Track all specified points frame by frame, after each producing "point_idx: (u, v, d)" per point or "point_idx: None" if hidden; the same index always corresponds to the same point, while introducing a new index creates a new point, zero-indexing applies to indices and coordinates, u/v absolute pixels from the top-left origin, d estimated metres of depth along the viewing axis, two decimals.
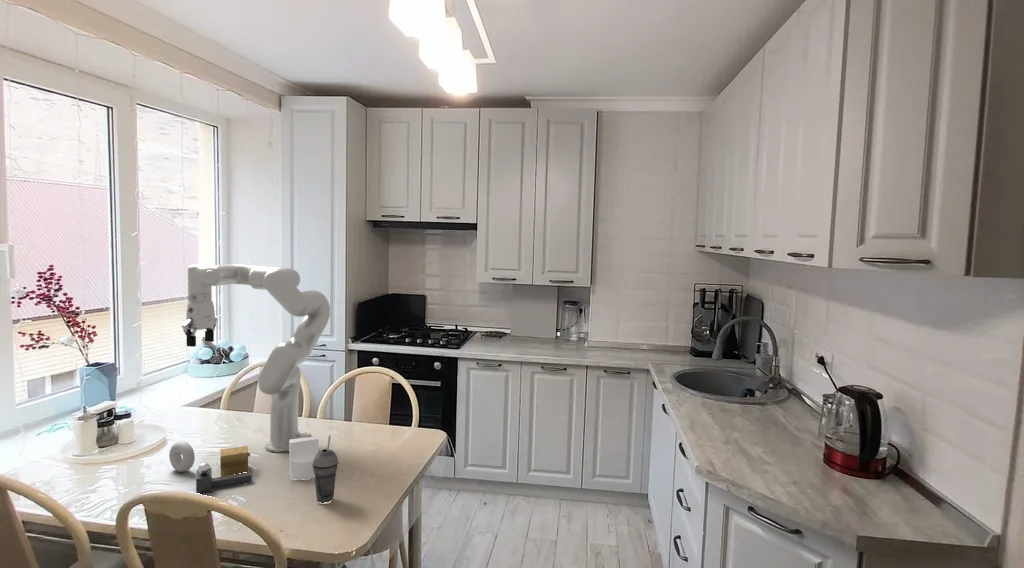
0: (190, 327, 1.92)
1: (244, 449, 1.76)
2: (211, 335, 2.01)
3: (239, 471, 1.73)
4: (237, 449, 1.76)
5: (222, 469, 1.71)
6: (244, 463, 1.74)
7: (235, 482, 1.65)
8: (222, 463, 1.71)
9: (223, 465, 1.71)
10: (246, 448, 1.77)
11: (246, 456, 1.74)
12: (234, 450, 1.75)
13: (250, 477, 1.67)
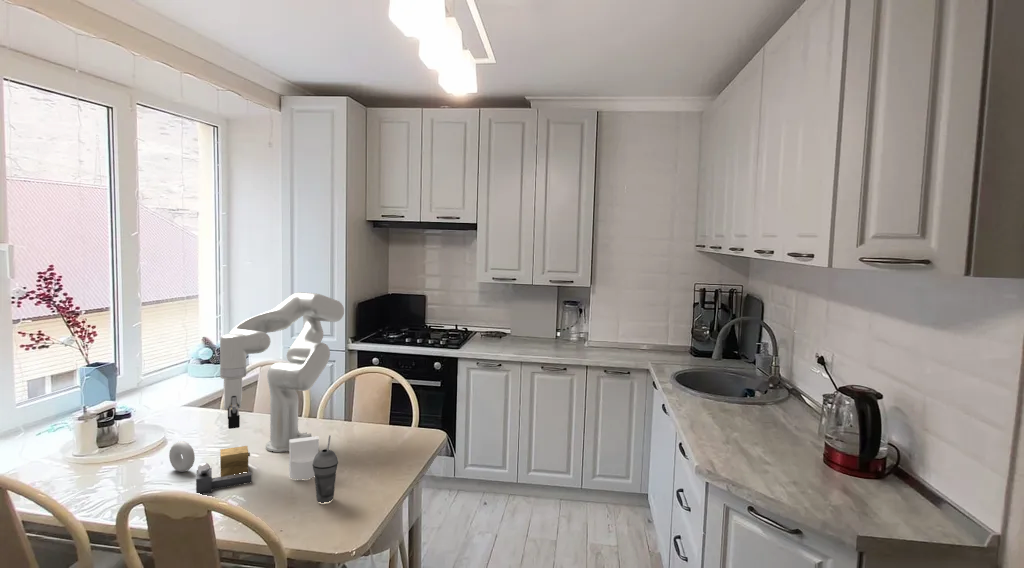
0: None
1: (244, 449, 1.76)
2: None
3: (239, 471, 1.73)
4: (237, 449, 1.76)
5: (222, 469, 1.71)
6: (244, 463, 1.74)
7: (235, 482, 1.65)
8: (222, 463, 1.71)
9: (223, 465, 1.71)
10: (246, 448, 1.77)
11: (246, 456, 1.74)
12: (234, 450, 1.75)
13: (250, 477, 1.67)
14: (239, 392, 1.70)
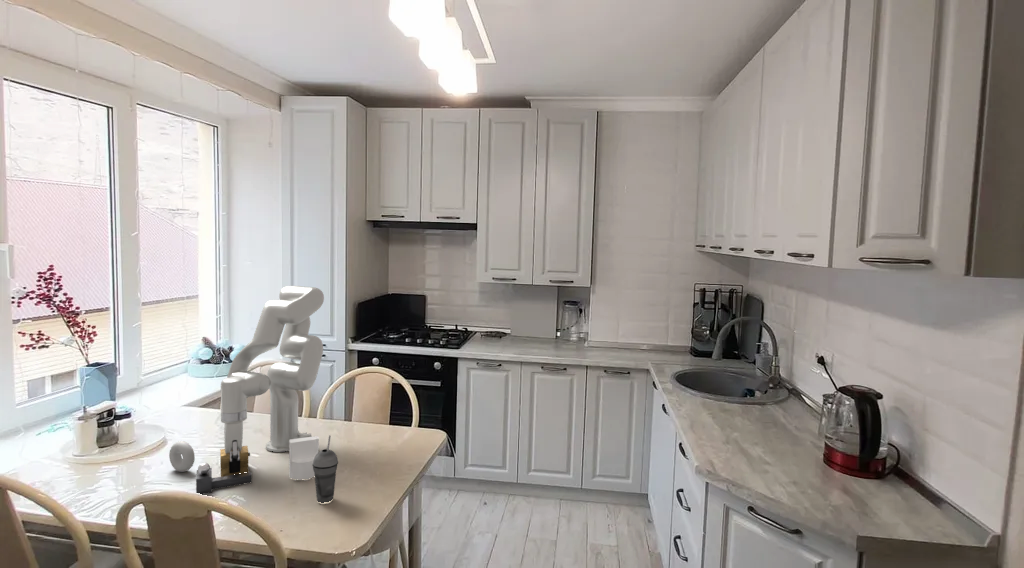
0: None
1: (244, 449, 1.76)
2: None
3: None
4: (237, 449, 1.76)
5: (222, 469, 1.71)
6: (244, 463, 1.74)
7: (235, 482, 1.65)
8: (222, 462, 1.71)
9: (223, 465, 1.71)
10: (246, 448, 1.77)
11: (246, 456, 1.74)
12: None
13: (250, 477, 1.67)
14: (240, 436, 1.71)
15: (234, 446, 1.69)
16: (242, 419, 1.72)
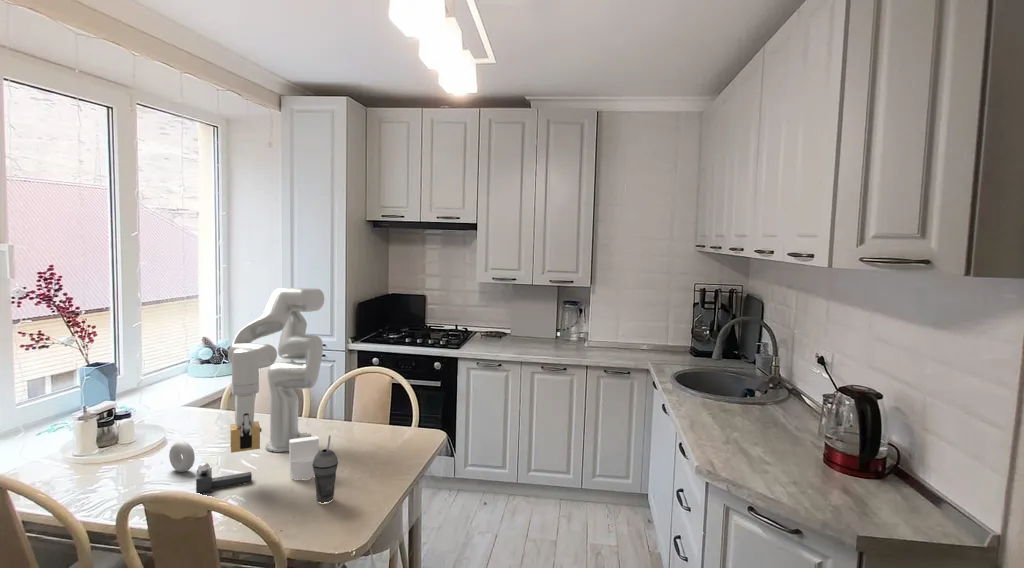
0: None
1: (255, 424, 1.67)
2: None
3: None
4: None
5: (232, 444, 1.62)
6: (256, 438, 1.65)
7: (235, 482, 1.65)
8: (233, 437, 1.62)
9: (234, 440, 1.62)
10: (257, 423, 1.69)
11: (258, 431, 1.66)
12: None
13: (250, 477, 1.67)
14: (252, 409, 1.63)
15: (246, 420, 1.61)
16: (254, 392, 1.64)
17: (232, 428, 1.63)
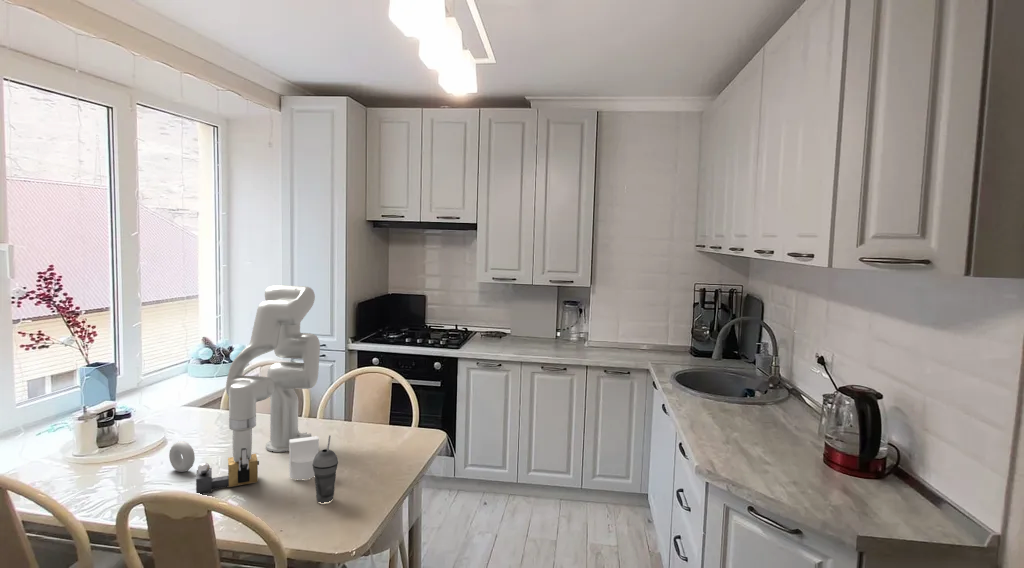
0: None
1: (253, 458, 1.68)
2: None
3: None
4: (246, 457, 1.68)
5: (230, 478, 1.63)
6: (253, 472, 1.66)
7: None
8: (230, 472, 1.63)
9: (231, 474, 1.63)
10: (255, 456, 1.69)
11: (255, 465, 1.66)
12: None
13: None
14: (249, 444, 1.63)
15: (243, 455, 1.62)
16: (251, 426, 1.65)
17: (230, 462, 1.64)
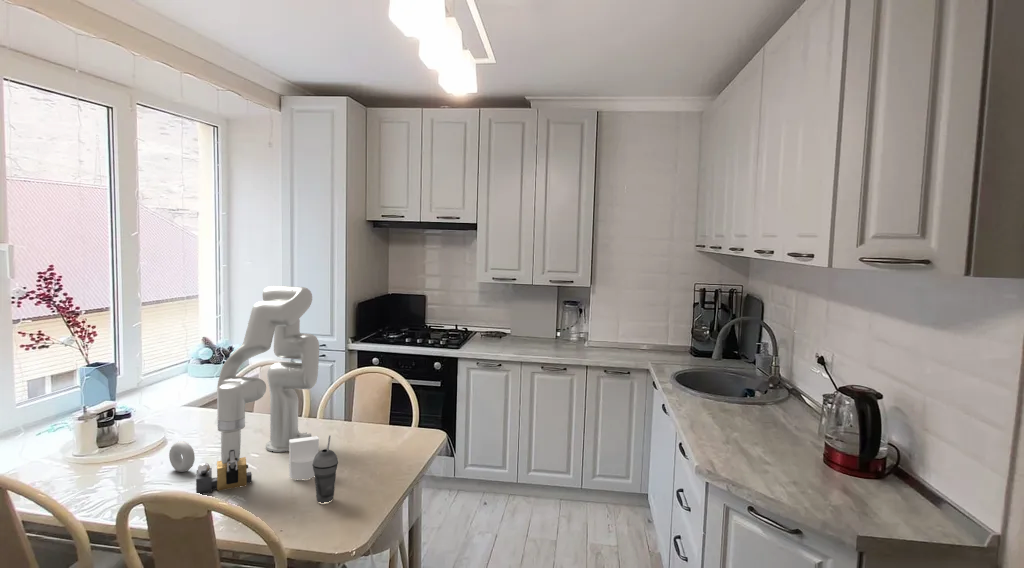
0: None
1: (242, 461, 1.67)
2: None
3: (237, 484, 1.64)
4: None
5: (219, 482, 1.62)
6: (242, 476, 1.65)
7: None
8: (219, 475, 1.62)
9: (220, 478, 1.62)
10: (244, 460, 1.68)
11: (244, 468, 1.65)
12: None
13: (250, 477, 1.67)
14: (237, 445, 1.62)
15: (231, 454, 1.60)
16: (240, 427, 1.63)
17: (218, 466, 1.63)
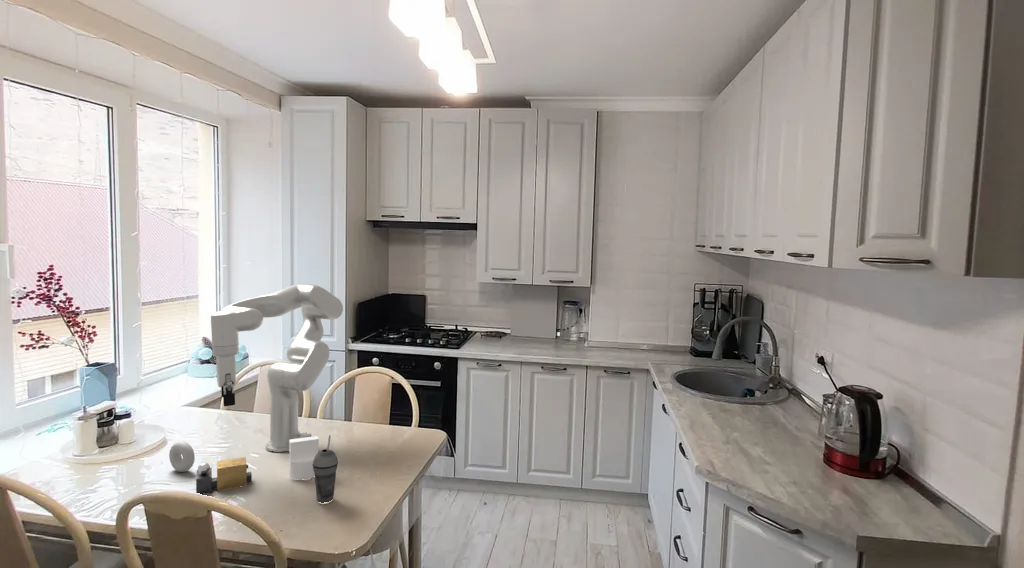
0: None
1: (242, 461, 1.67)
2: None
3: (237, 484, 1.64)
4: (235, 461, 1.67)
5: (219, 482, 1.62)
6: (242, 476, 1.65)
7: None
8: (219, 475, 1.62)
9: (220, 478, 1.62)
10: (244, 460, 1.68)
11: (244, 468, 1.65)
12: (232, 462, 1.66)
13: (250, 477, 1.67)
14: (233, 369, 1.68)
15: (228, 377, 1.66)
16: (234, 353, 1.70)
17: (218, 466, 1.63)
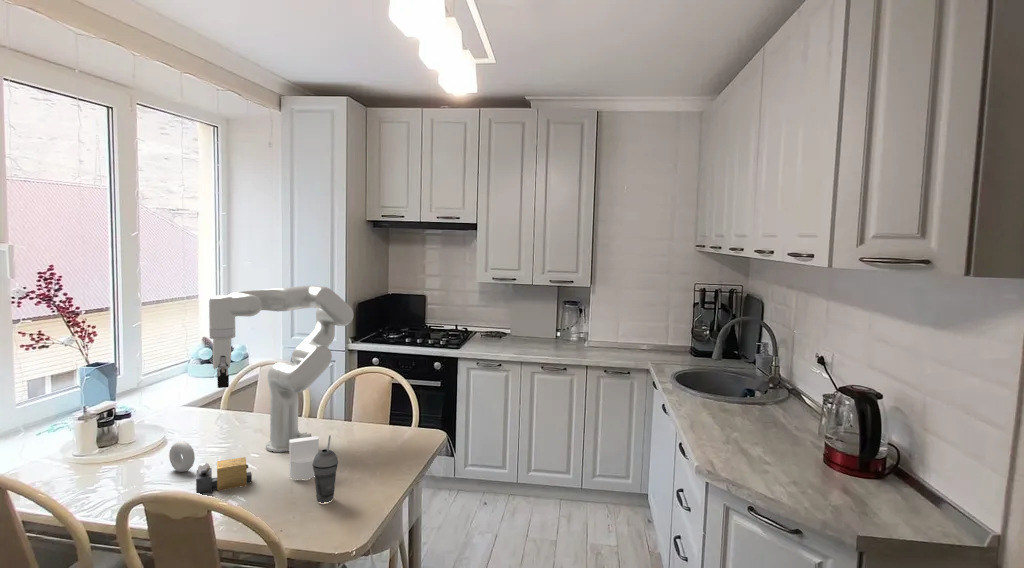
0: None
1: (242, 461, 1.67)
2: None
3: (237, 484, 1.64)
4: (235, 461, 1.67)
5: (219, 482, 1.62)
6: (242, 476, 1.65)
7: None
8: (219, 475, 1.62)
9: (220, 478, 1.62)
10: (244, 460, 1.68)
11: (244, 468, 1.65)
12: (232, 462, 1.66)
13: (250, 477, 1.67)
14: (228, 352, 1.72)
15: (222, 359, 1.71)
16: (230, 336, 1.74)
17: (218, 466, 1.63)
